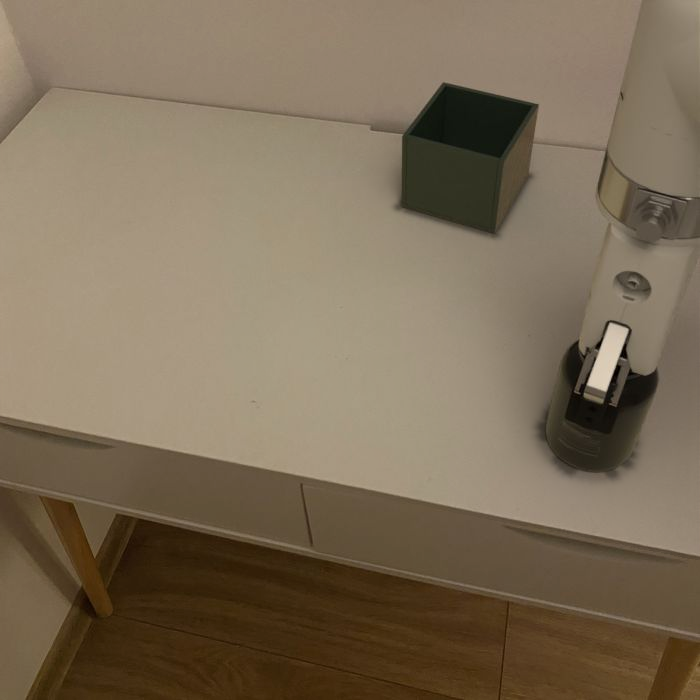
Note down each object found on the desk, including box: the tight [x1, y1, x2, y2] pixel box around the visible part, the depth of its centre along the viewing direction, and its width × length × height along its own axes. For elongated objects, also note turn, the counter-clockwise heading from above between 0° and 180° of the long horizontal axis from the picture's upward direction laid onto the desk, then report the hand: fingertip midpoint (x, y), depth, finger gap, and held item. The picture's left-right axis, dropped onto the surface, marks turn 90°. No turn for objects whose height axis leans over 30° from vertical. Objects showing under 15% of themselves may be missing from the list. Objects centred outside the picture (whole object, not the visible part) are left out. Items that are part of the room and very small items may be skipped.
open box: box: [400, 81, 540, 235], centre depth 81 cm, size 10×10×8 cm
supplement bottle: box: [545, 337, 660, 472], centre depth 60 cm, size 7×7×12 cm
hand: (606, 374), depth 59 cm, fingers open, 9 cm apart
